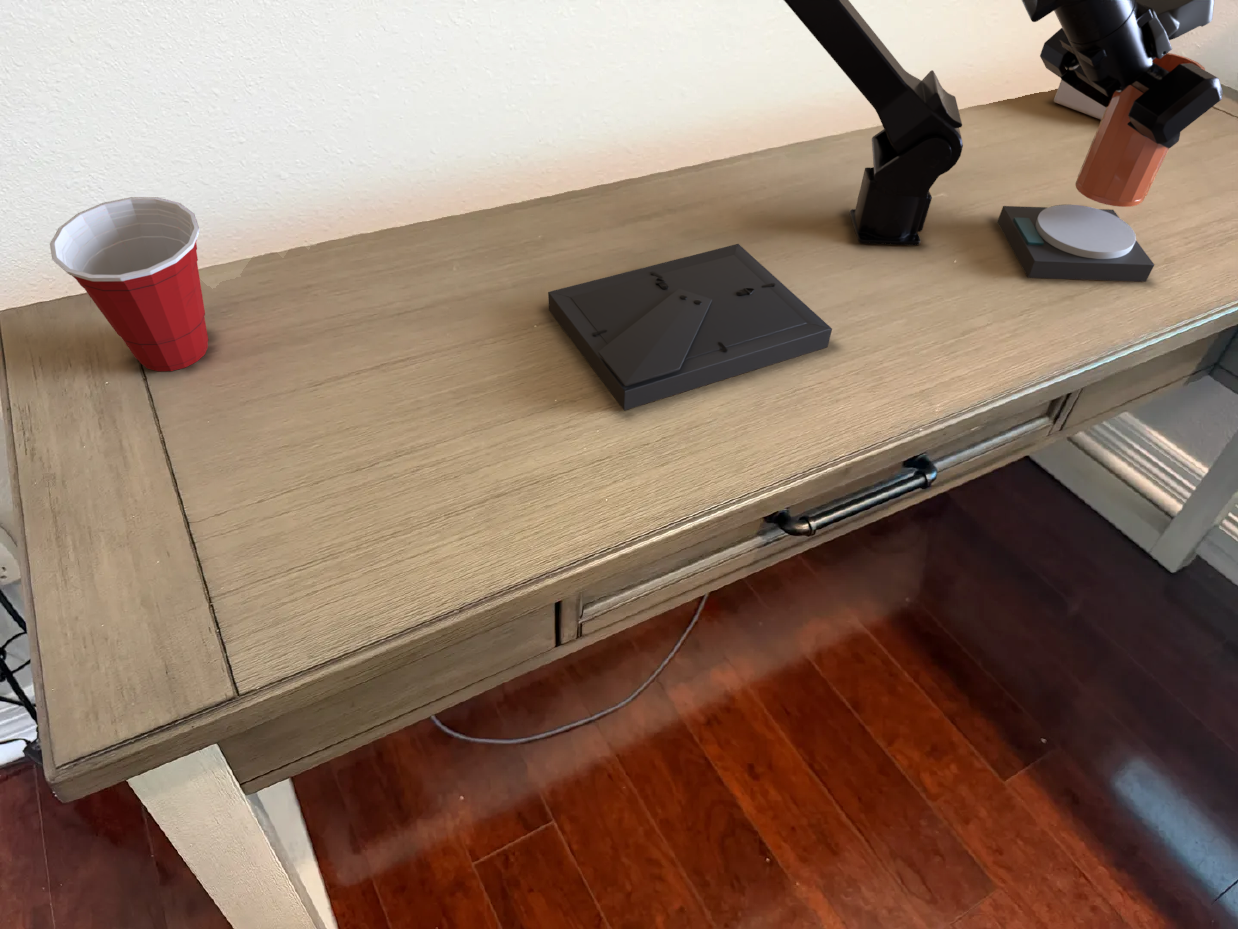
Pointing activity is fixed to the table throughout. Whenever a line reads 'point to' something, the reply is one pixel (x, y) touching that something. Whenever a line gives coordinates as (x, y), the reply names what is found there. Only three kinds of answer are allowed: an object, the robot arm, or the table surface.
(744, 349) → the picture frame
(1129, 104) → the tumbler
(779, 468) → the table surface
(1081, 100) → the charger
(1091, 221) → the scale
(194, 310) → the plastic cup
